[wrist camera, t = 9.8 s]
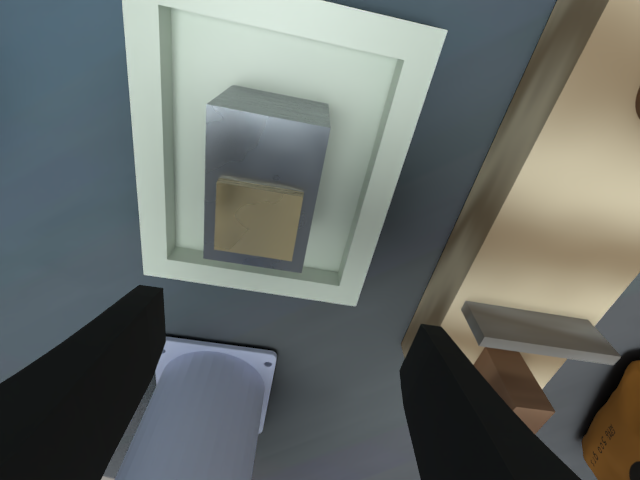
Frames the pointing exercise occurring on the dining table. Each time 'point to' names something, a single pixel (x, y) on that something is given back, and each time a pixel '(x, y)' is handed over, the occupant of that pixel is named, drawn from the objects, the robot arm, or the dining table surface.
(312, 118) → the grey angular block
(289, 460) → the dining table surface
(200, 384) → the robot arm
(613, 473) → the coffee package
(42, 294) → the dining table surface
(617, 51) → the body
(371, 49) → the parts tray
